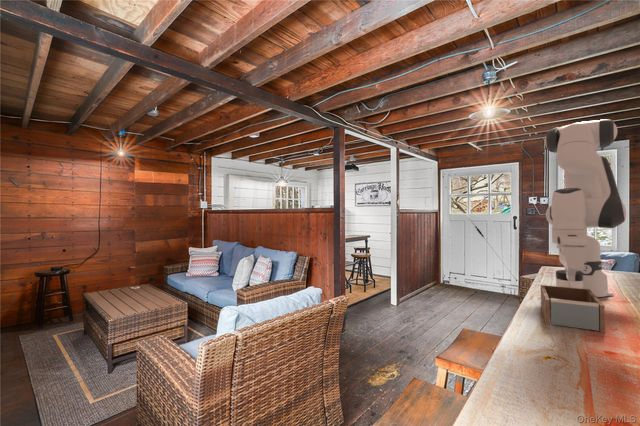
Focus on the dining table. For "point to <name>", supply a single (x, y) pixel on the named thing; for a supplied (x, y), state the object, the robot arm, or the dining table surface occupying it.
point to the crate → (569, 294)
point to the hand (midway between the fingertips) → (570, 280)
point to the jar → (563, 281)
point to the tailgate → (575, 314)
